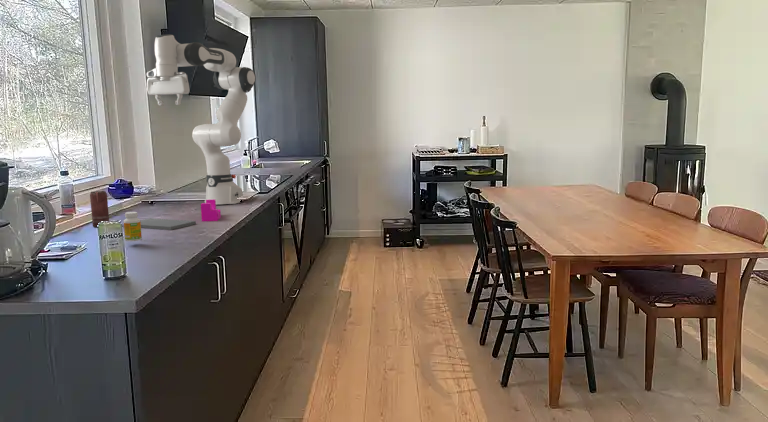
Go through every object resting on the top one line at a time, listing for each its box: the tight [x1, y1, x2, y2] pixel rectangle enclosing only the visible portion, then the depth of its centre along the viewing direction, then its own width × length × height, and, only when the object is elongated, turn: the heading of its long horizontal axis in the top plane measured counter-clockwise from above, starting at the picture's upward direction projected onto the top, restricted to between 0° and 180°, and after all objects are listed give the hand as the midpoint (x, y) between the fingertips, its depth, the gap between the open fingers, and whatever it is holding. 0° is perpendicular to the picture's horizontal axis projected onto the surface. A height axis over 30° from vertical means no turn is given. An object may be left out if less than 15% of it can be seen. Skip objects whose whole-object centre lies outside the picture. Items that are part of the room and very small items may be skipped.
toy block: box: [200, 199, 222, 222], centre depth 246 cm, size 15×6×8 cm, turn 8°
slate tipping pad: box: [140, 217, 197, 231], centre depth 231 cm, size 14×24×1 cm, turn 67°
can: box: [89, 190, 110, 228], centre depth 230 cm, size 6×6×14 cm
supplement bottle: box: [123, 211, 143, 242], centre depth 200 cm, size 5×5×10 cm
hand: (169, 105), depth 251 cm, fingers open, 8 cm apart
